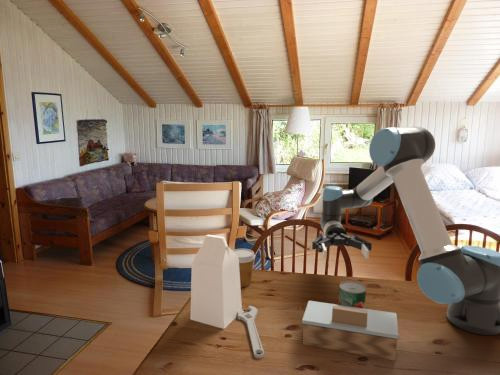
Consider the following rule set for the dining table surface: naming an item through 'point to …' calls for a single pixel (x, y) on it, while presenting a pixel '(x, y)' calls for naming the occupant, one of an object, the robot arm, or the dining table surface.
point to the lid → (351, 319)
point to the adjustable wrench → (252, 329)
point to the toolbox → (350, 341)
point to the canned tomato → (352, 294)
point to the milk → (215, 283)
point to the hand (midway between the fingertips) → (346, 254)
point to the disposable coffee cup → (245, 265)
